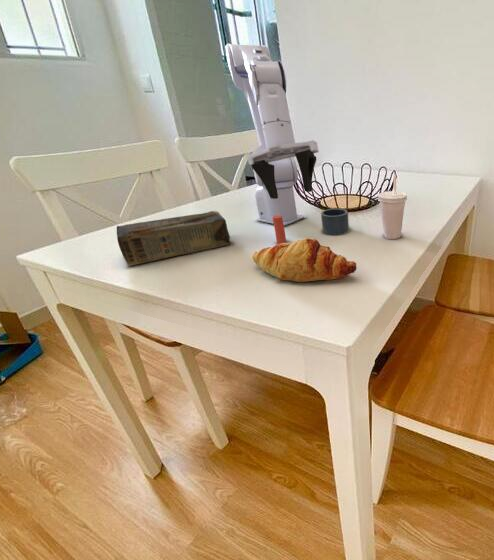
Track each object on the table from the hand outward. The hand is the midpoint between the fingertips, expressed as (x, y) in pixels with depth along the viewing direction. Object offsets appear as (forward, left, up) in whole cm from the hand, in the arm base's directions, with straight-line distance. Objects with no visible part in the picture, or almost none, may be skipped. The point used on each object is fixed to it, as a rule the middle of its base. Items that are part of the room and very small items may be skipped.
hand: (291, 194), depth 70 cm
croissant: (+10, -10, -11) cm, 18 cm away
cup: (+2, +11, -11) cm, 15 cm away
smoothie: (+16, +14, -11) cm, 24 cm away
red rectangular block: (-4, -1, -11) cm, 12 cm away
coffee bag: (-20, -14, -11) cm, 27 cm away
